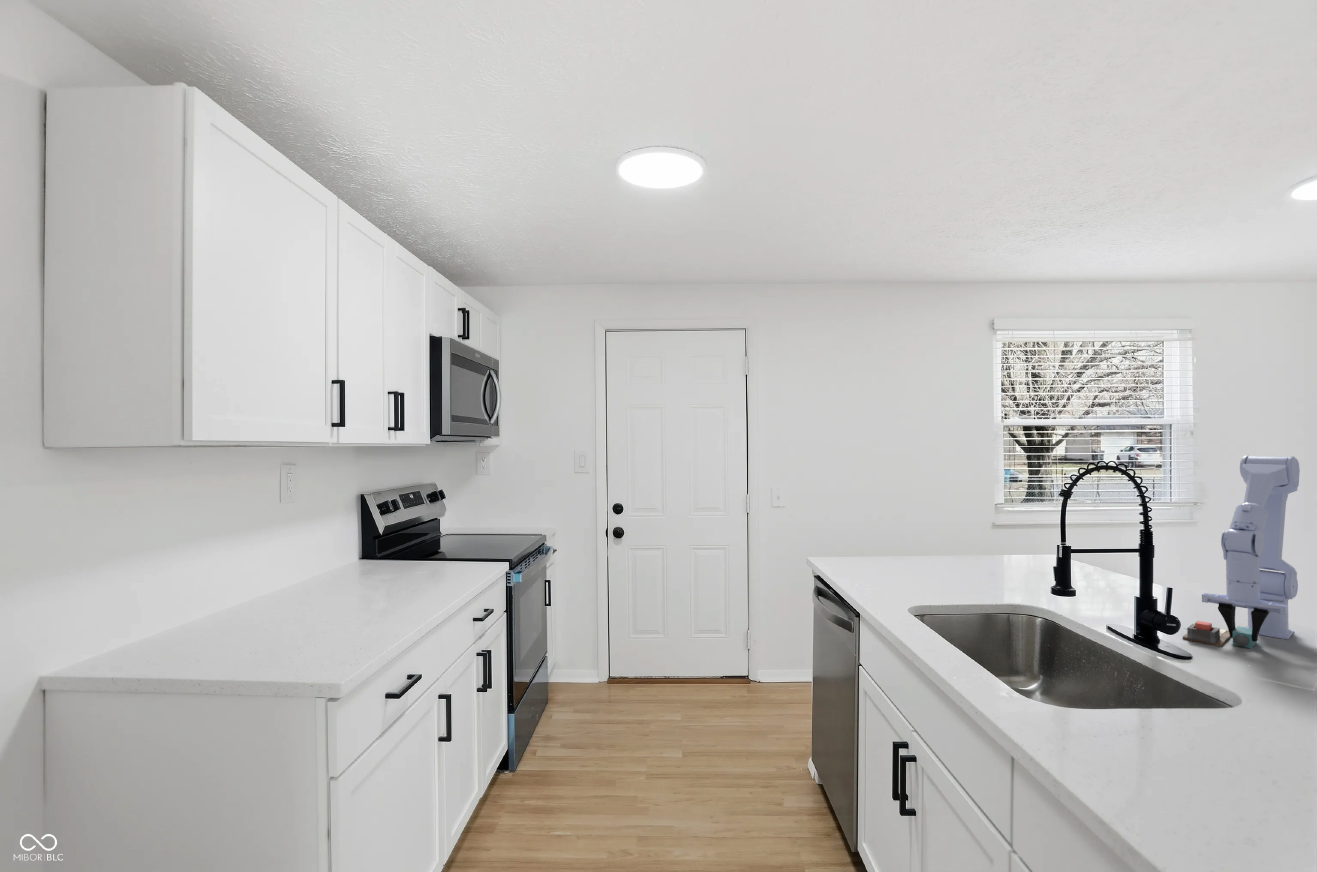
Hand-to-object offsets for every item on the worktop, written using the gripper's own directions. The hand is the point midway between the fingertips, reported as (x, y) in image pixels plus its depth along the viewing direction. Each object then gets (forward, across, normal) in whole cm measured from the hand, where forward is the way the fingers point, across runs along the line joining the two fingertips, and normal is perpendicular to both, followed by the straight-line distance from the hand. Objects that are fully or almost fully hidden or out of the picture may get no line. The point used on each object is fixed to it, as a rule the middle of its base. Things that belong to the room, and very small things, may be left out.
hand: (1243, 638), depth 145 cm
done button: (-1, -7, -4) cm, 7 cm away
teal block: (+1, 0, +1) cm, 2 cm away
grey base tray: (+1, -6, +1) cm, 7 cm away
